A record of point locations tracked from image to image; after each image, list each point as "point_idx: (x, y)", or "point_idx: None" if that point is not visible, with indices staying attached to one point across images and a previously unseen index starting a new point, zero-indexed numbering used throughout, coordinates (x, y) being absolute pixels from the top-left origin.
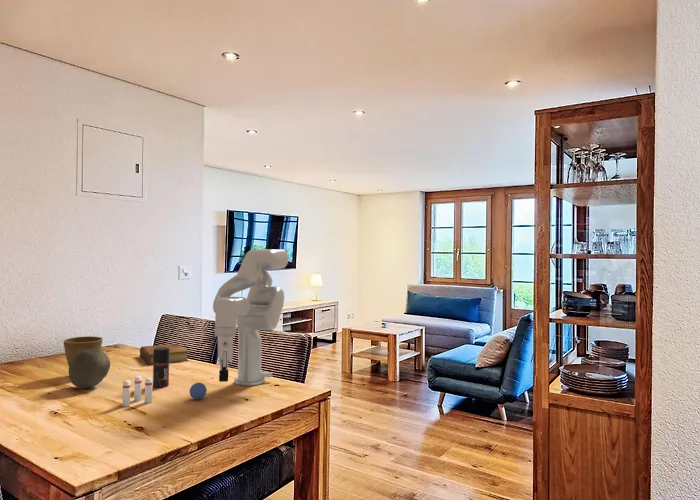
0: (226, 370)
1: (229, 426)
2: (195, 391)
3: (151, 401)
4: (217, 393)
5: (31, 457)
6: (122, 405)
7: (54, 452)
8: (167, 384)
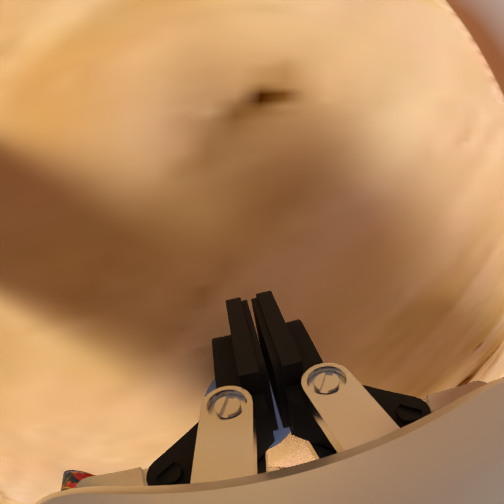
0: (336, 376)
1: None
2: None
3: (274, 469)
4: (124, 316)
5: None
6: None
7: None
8: (83, 477)
